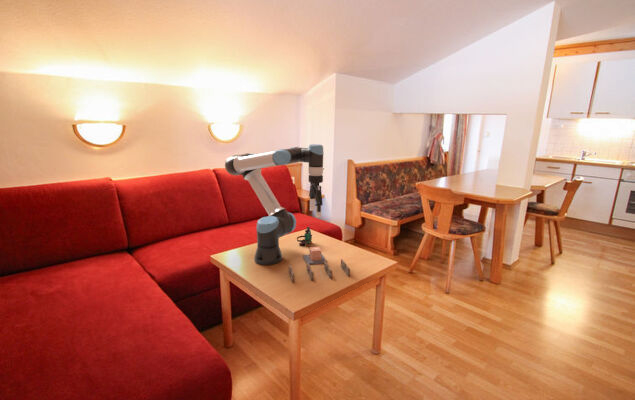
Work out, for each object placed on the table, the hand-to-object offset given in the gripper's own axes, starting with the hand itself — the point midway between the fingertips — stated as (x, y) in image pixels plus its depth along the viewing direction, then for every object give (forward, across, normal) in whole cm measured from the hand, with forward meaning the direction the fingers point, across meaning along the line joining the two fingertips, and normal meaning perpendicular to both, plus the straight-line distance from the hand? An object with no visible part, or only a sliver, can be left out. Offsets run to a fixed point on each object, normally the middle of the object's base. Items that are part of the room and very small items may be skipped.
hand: (315, 213), depth 171 cm
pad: (+27, 0, 0) cm, 27 cm away
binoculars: (+27, +24, +1) cm, 36 cm away
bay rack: (+27, -17, +2) cm, 32 cm away
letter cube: (+26, 0, 0) cm, 26 cm away
